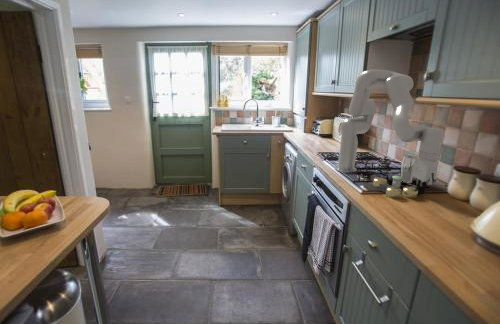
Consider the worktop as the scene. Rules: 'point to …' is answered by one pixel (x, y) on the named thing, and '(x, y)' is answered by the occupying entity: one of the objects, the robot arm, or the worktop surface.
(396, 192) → the knob
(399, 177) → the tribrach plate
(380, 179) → the knob left
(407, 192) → the knob
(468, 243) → the worktop surface
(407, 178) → the beer glass
